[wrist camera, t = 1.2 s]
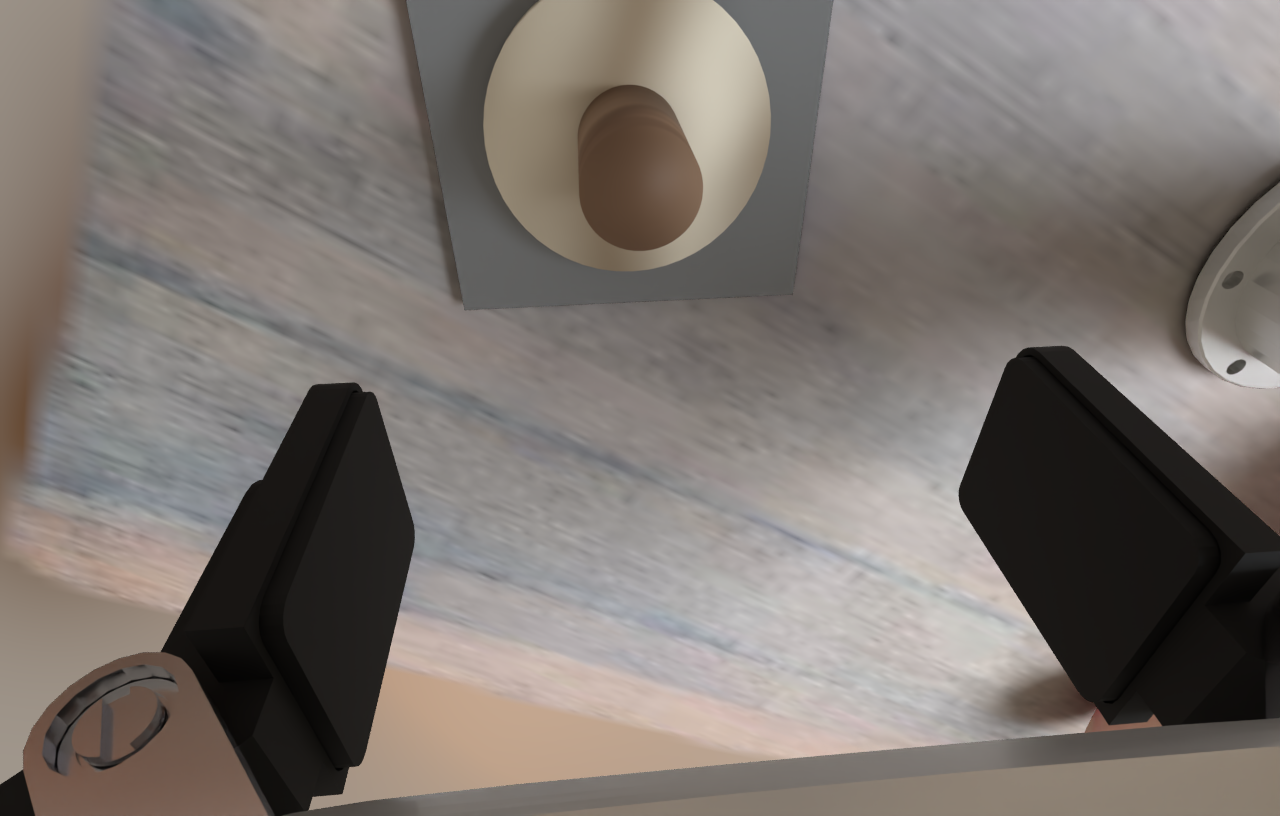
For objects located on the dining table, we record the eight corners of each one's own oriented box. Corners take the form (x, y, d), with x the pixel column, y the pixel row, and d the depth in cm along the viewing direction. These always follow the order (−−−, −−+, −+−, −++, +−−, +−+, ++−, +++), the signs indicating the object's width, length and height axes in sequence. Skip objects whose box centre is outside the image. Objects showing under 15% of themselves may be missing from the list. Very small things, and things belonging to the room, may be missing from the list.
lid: (777, -37, 22) (839, -14, 17) (751, 252, 28) (790, 332, 23) (464, -29, 21) (431, -4, 16) (506, 264, 28) (492, 348, 22)
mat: (842, -115, 21) (848, -115, 21) (789, 287, 30) (792, 294, 29) (389, -108, 21) (385, -109, 20) (466, 303, 29) (464, 310, 29)
